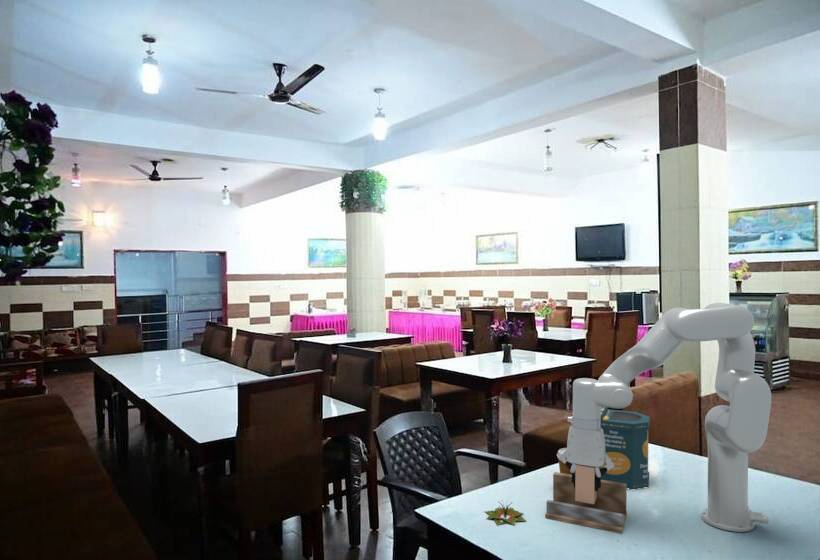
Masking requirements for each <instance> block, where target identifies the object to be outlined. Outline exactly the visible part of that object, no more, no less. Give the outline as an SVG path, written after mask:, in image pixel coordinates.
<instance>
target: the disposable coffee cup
mask: <svg viewBox="0 0 820 560" xmlns="http://www.w3.org/2000/svg"><path fill="white" fill-rule="evenodd" d="M566 450H567V447H563V448H559V450H557V453H556V456H557V460H558V467H559V473H565V474H571V475H572V473H571V471H570V469H569V468H568V467H567V466H566V465H565V463H563V462H562V461H561V460H560V456H561V455H562V454H563V453H564V452H565V451H566ZM566 458H567V457H566Z"/></svg>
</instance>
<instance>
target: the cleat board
mask: <svg viewBox="0 0 820 560" xmlns="http://www.w3.org/2000/svg"><path fill="white" fill-rule="evenodd" d="M552 479H553V480H552V484H553V485H552V486H553V487H552V489H553V490H552V500H550V499H547V500H546V508H545V509H546V512H545V516H544V518H545V519H548V520H553V521H558V522H564V523H568V524H572V525H573V524H574V525H578V526H582V527H586V528H592V529H596V530H603V531H607V532H611V531H612V533H618V534H621V535H622V534H623V531H624V527H625V523H626V518H627V515H628V510H627V504H628V503H627V484H625V483H619V482H613V481H607V480H601V487H600V488H598V491H597V498H596V501H595V503H594V504H590V503H585V502H579V501H575V487H574V483H572V475H571V474H565V473H560V472H557V471H554V472H553V475H552Z"/></svg>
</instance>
